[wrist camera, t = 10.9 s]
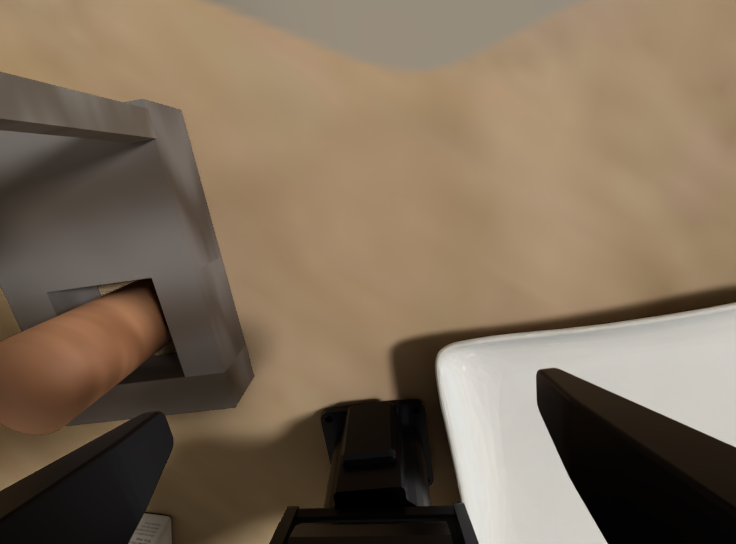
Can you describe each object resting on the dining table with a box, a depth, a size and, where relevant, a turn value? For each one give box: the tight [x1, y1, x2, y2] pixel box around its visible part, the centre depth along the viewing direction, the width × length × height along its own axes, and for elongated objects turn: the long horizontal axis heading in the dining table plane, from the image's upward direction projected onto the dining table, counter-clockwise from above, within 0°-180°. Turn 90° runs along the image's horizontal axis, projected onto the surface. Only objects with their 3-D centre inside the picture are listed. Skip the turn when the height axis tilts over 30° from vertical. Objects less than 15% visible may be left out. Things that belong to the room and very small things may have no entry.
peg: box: [0, 279, 173, 435], centre depth 17 cm, size 4×4×8 cm
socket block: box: [0, 72, 254, 426], centre depth 14 cm, size 16×12×13 cm
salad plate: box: [435, 302, 736, 544], centre depth 21 cm, size 21×21×3 cm
